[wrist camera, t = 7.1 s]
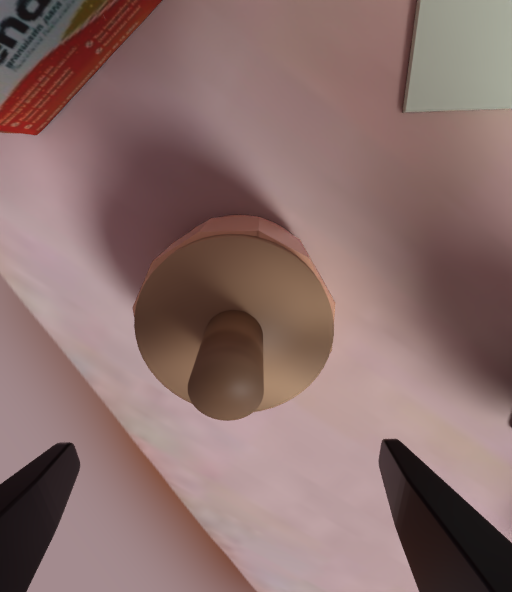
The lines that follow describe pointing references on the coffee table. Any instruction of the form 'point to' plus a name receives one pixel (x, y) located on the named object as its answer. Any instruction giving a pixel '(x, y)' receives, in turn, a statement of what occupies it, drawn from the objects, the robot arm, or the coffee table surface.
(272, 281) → the lid
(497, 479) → the coffee table surface
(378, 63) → the coffee table surface
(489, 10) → the mat
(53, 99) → the medicine box
